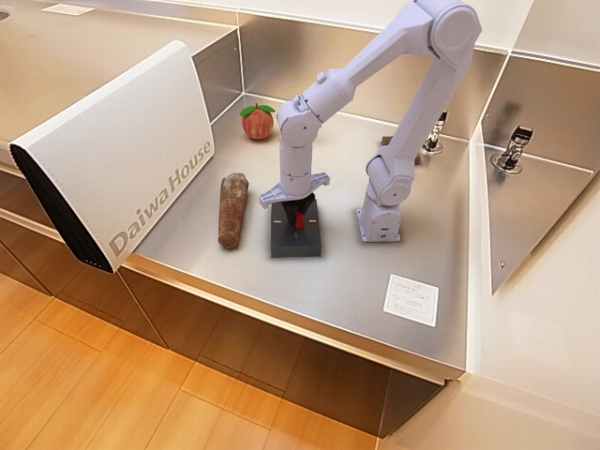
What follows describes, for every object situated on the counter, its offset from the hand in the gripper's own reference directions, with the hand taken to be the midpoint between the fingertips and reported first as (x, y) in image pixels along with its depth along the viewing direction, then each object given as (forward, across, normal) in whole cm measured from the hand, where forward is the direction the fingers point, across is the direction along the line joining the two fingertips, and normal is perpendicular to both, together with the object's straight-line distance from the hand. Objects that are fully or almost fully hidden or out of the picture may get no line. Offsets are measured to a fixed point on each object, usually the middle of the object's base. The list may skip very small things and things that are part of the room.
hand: (295, 220), depth 76 cm
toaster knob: (0, 0, 0) cm, 0 cm away
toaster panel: (+3, 0, 0) cm, 3 cm away
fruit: (+4, -10, -37) cm, 38 cm away
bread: (+4, +10, -10) cm, 14 cm away
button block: (+3, -39, -11) cm, 41 cm away
